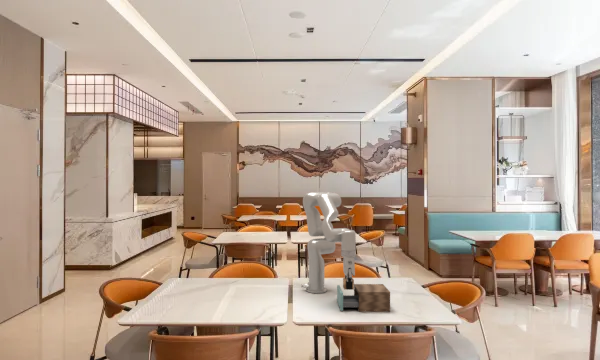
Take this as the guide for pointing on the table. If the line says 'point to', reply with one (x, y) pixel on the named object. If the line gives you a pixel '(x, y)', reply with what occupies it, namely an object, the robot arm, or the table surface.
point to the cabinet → (372, 297)
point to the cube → (345, 284)
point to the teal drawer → (346, 299)
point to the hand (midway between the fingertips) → (348, 287)
